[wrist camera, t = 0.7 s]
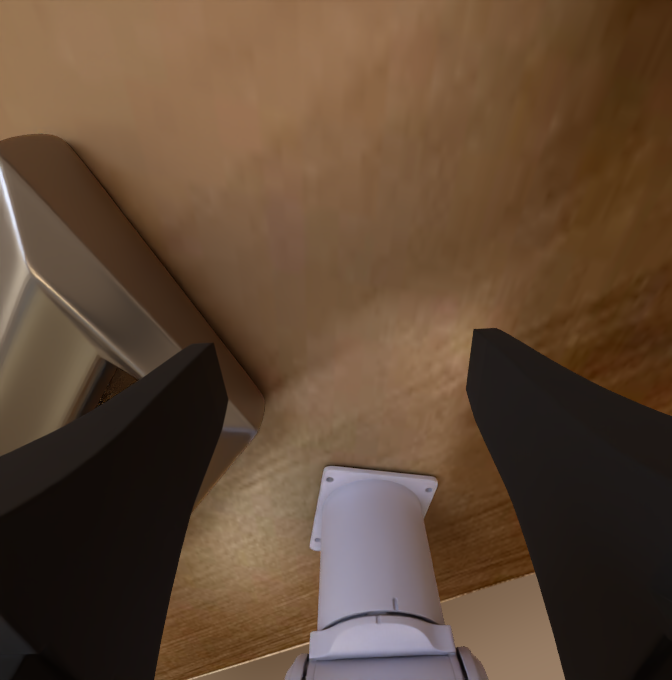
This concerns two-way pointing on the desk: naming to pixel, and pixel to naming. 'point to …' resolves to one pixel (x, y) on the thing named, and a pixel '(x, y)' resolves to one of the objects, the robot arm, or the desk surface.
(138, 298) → the emblem
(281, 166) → the desk surface
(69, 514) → the robot arm
